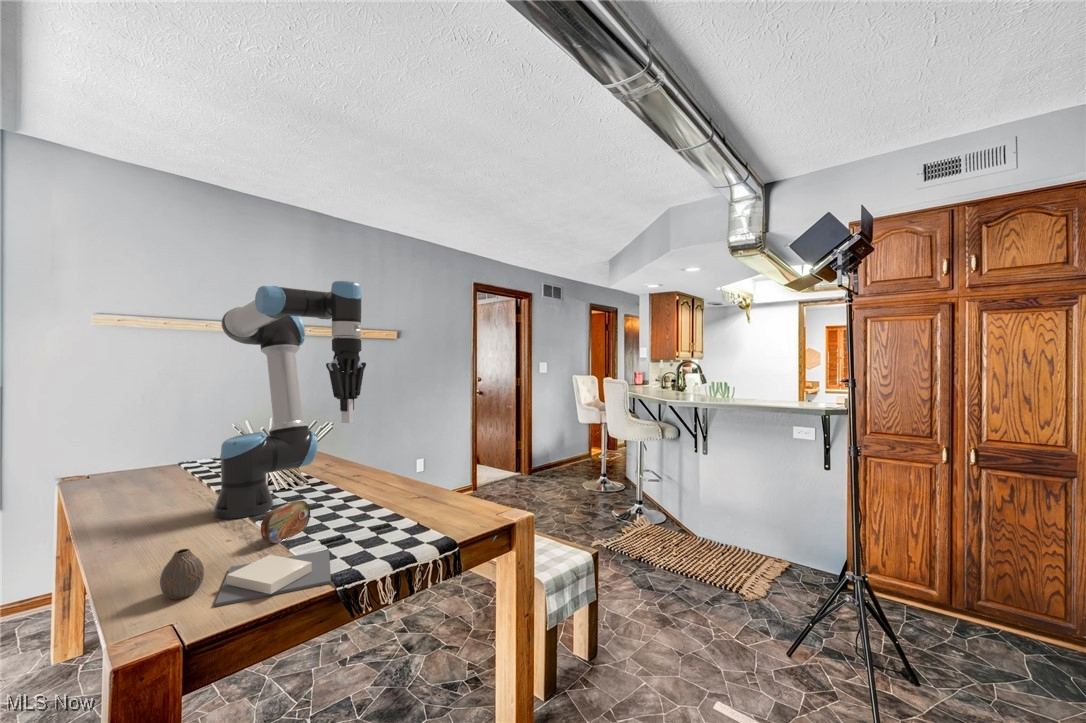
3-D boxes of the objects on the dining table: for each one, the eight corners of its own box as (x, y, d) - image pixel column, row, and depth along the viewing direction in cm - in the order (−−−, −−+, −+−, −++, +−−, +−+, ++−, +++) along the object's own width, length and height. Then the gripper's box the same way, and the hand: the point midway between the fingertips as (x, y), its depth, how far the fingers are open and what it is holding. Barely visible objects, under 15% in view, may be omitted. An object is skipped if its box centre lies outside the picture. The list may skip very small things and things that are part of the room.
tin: (269, 548, 113) (268, 515, 112) (258, 547, 113) (257, 514, 113) (311, 526, 127) (311, 496, 127) (301, 525, 128) (301, 496, 128)
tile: (270, 564, 103) (226, 585, 93) (270, 554, 103) (226, 574, 93) (311, 572, 99) (270, 595, 89) (311, 562, 99) (270, 584, 89)
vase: (188, 602, 88) (188, 557, 88) (150, 604, 87) (150, 559, 87) (212, 585, 95) (211, 543, 94) (177, 586, 94) (176, 544, 94)
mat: (230, 569, 101) (230, 566, 101) (329, 552, 110) (329, 549, 110) (214, 606, 86) (214, 603, 86) (330, 583, 95) (330, 580, 95)
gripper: (340, 336, 118) (340, 426, 118) (373, 338, 130) (374, 420, 131) (317, 337, 121) (318, 425, 121) (352, 338, 133) (353, 419, 133)
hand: (347, 422), depth 126 cm, fingers closed
